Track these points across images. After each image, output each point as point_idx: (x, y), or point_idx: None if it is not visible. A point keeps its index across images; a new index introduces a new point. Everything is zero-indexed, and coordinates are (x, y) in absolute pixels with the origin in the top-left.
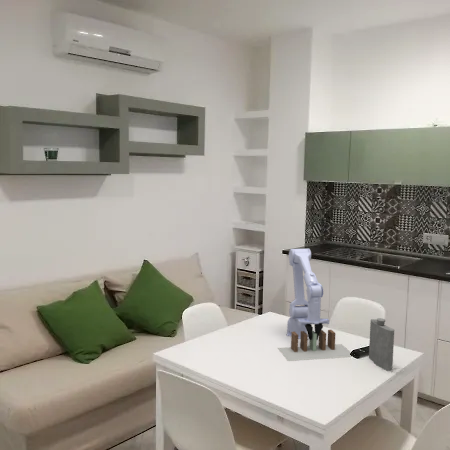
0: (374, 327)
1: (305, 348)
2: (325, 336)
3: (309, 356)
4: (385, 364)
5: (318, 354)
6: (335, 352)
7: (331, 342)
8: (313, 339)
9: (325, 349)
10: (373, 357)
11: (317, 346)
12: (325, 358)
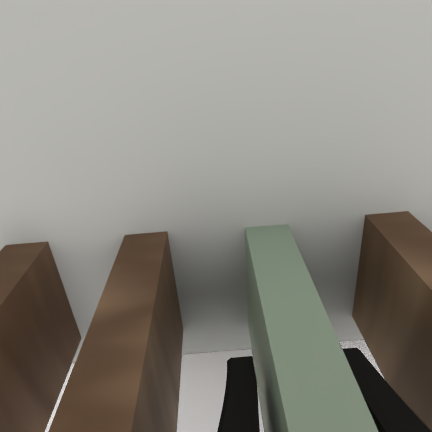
0: None
1: (409, 231)
2: (78, 394)
3: (425, 33)
4: None
5: (261, 103)
6: (3, 158)
7: (7, 314)
8: (335, 334)
9: (125, 240)
10: None
11: (191, 333)
12: None
